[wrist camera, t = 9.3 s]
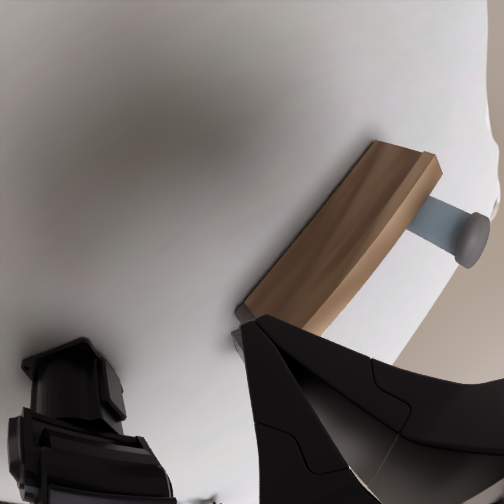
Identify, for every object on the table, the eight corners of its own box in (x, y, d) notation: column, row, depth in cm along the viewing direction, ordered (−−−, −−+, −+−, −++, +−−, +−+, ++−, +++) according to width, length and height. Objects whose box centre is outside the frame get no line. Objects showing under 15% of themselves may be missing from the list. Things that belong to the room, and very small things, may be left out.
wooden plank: (230, 314, 24) (265, 368, 19) (374, 137, 22) (435, 154, 17) (247, 323, 25) (283, 374, 20) (384, 154, 23) (442, 173, 19)
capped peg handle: (354, 216, 25) (459, 276, 17) (353, 175, 23) (470, 226, 15) (383, 204, 26) (483, 256, 18) (383, 166, 24) (493, 210, 16)
